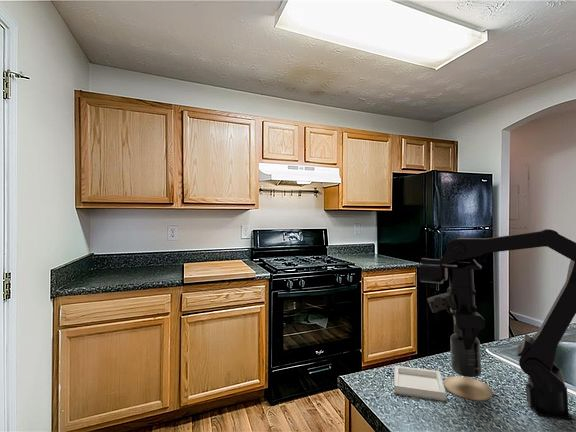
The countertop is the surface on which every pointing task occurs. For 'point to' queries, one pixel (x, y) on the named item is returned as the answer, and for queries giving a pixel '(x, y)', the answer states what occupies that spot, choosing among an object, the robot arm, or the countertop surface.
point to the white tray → (419, 383)
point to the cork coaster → (467, 388)
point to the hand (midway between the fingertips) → (464, 344)
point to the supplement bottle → (465, 356)
